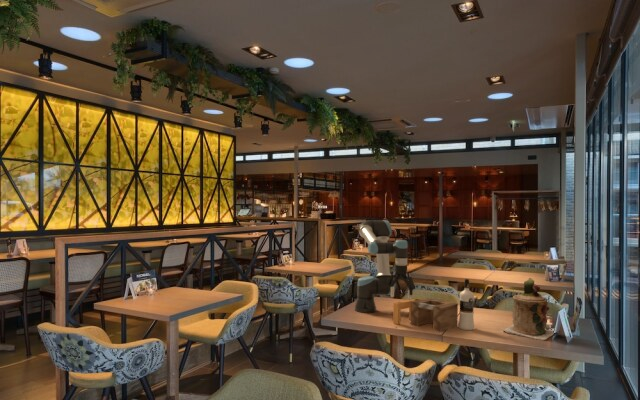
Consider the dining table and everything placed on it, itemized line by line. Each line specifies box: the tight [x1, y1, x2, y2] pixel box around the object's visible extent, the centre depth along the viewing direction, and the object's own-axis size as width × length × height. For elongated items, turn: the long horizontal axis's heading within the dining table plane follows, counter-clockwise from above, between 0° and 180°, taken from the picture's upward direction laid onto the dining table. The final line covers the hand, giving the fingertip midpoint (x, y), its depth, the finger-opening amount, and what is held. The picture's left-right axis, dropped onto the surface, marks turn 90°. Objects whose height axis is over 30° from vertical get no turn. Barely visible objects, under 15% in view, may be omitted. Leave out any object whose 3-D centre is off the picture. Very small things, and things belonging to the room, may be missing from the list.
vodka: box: [457, 278, 475, 331], centre depth 280 cm, size 9×9×30 cm
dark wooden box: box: [410, 297, 459, 333], centre depth 286 cm, size 22×18×14 cm
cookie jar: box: [502, 277, 555, 341], centre depth 273 cm, size 25×25×32 cm
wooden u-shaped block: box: [392, 299, 416, 326], centre depth 294 cm, size 4×19×13 cm, turn 133°
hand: (400, 298), depth 291 cm, fingers open, 13 cm apart
